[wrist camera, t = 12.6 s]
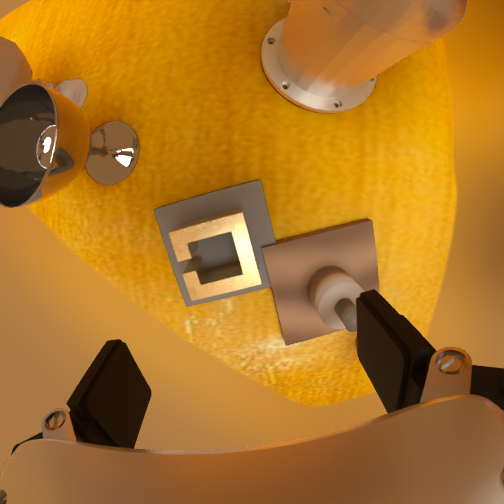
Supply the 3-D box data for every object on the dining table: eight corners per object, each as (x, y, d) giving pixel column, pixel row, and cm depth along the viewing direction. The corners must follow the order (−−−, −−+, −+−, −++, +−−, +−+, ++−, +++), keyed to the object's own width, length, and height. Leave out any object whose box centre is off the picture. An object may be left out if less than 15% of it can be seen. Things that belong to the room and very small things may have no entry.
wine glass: (90, 114, 24) (-3, 87, 9) (151, 121, 25) (72, 79, 10) (75, 183, 26) (-24, 198, 11) (133, 195, 27) (43, 218, 12)
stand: (260, 245, 28) (269, 276, 20) (367, 218, 28) (412, 236, 20) (284, 340, 32) (297, 391, 23) (376, 312, 31) (411, 352, 23)
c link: (178, 224, 27) (168, 233, 23) (242, 207, 27) (242, 212, 23) (197, 284, 29) (191, 300, 25) (258, 269, 29) (261, 284, 25)
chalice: (43, 98, 22) (-62, 74, 5) (81, 60, 22) (-16, 7, 4) (61, 138, 24) (-60, 130, 7) (102, 99, 23) (-13, 51, 6)
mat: (155, 208, 27) (153, 209, 26) (259, 179, 27) (260, 179, 26) (187, 304, 30) (186, 306, 29) (284, 281, 30) (285, 283, 29)
